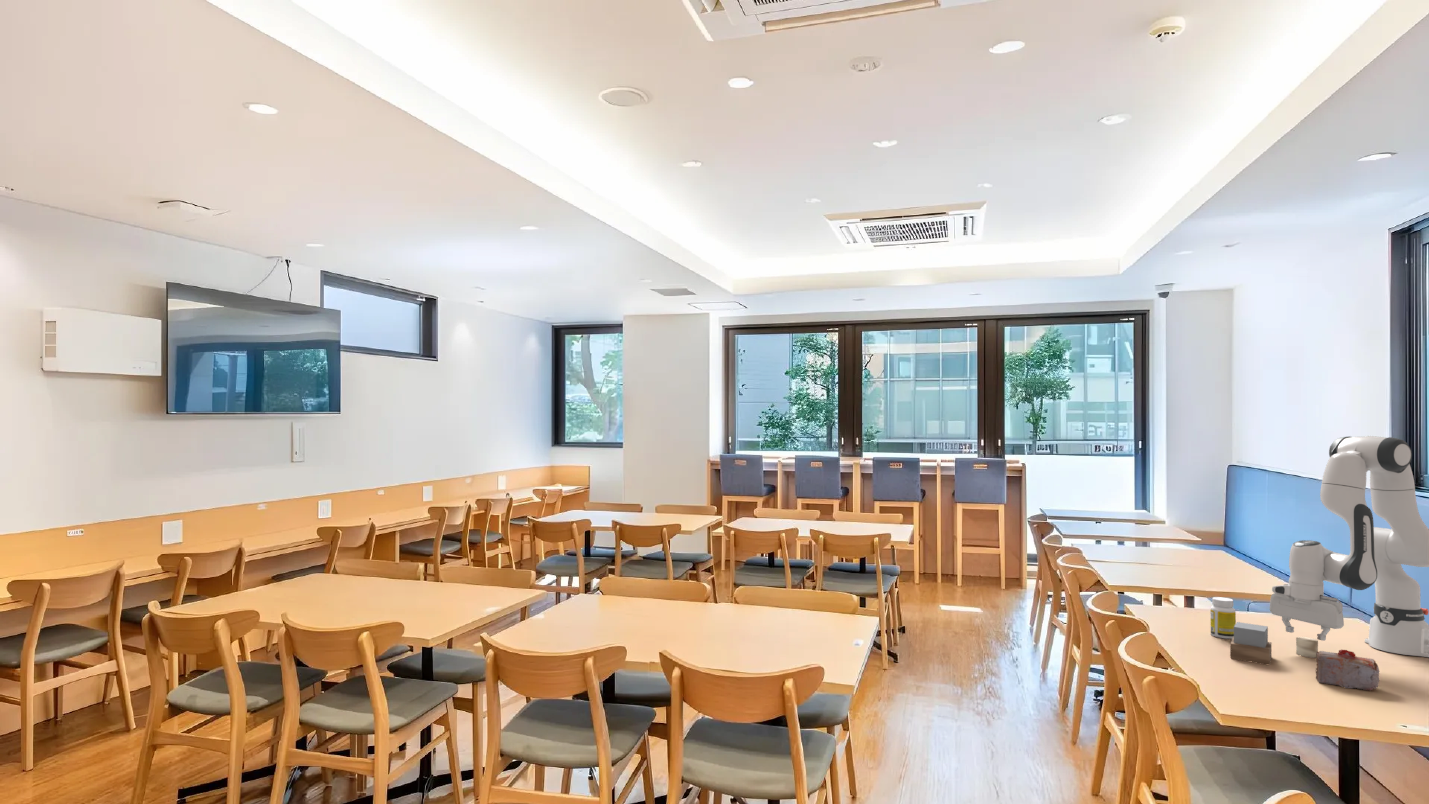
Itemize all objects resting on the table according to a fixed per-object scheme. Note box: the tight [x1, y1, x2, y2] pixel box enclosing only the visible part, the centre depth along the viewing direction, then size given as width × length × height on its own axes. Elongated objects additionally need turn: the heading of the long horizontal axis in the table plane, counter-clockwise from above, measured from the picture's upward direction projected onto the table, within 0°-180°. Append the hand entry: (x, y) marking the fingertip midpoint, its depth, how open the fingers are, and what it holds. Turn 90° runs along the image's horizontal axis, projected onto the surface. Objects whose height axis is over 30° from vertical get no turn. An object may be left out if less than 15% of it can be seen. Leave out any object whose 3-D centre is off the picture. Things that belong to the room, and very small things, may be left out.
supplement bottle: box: [1209, 596, 1237, 640], centre depth 267 cm, size 7×7×13 cm
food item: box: [1315, 649, 1380, 691], centre depth 219 cm, size 14×8×10 cm, turn 56°
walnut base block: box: [1229, 637, 1272, 665], centre depth 243 cm, size 10×10×5 cm
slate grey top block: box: [1234, 621, 1269, 648], centre depth 244 cm, size 8×8×5 cm
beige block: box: [1295, 636, 1319, 659], centre depth 247 cm, size 6×6×5 cm
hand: (1305, 635), depth 246 cm, fingers open, 8 cm apart
